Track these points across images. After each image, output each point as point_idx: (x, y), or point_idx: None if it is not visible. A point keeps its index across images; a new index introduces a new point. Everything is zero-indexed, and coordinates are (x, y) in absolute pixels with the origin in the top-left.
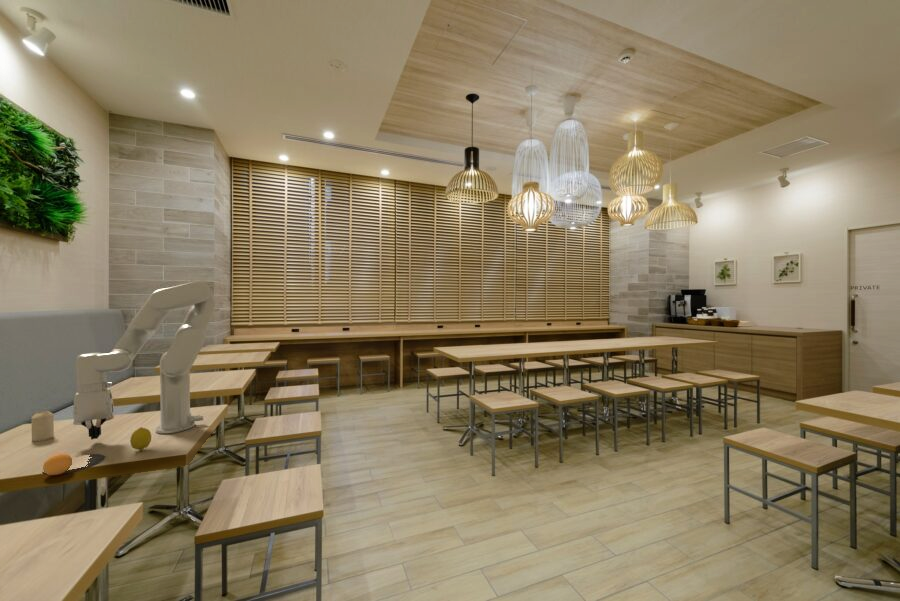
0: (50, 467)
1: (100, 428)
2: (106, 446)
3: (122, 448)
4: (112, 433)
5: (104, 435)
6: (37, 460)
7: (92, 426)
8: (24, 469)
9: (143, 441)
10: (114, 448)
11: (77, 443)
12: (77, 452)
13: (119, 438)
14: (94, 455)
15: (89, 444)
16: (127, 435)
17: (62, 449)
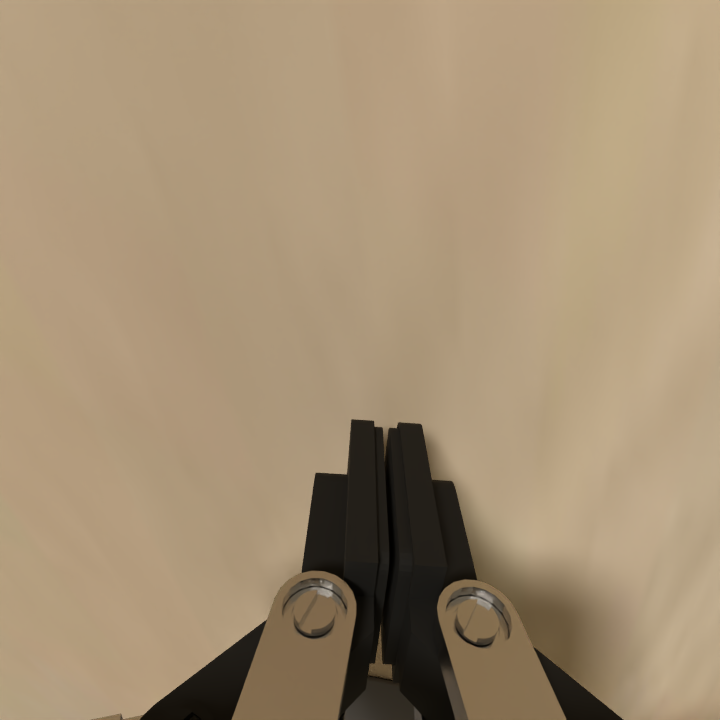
0: None
1: (465, 572)
2: (481, 575)
3: (583, 666)
4: (572, 46)
5: (456, 101)
6: (21, 616)
7: (360, 689)
8: (42, 716)
9: None
10: (534, 643)
11: (168, 314)
12: (274, 596)
13: (612, 402)
14: (413, 715)
15: (324, 437)
16: (713, 331)
17: (89, 451)
